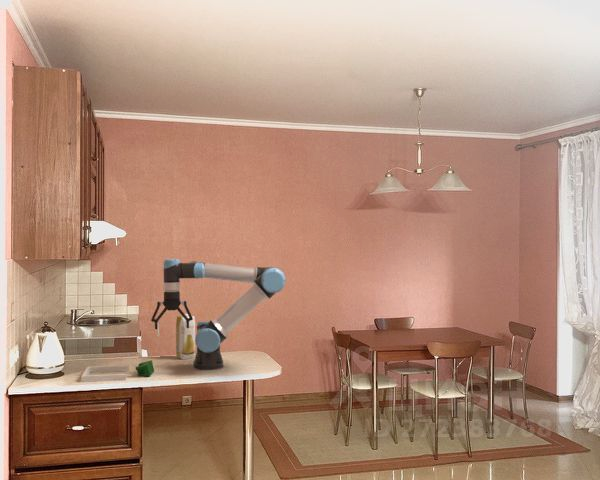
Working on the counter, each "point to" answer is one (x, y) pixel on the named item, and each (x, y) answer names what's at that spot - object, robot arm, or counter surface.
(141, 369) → the green lumpy piece
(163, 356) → the counter surface
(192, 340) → the juice carton
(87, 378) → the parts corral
